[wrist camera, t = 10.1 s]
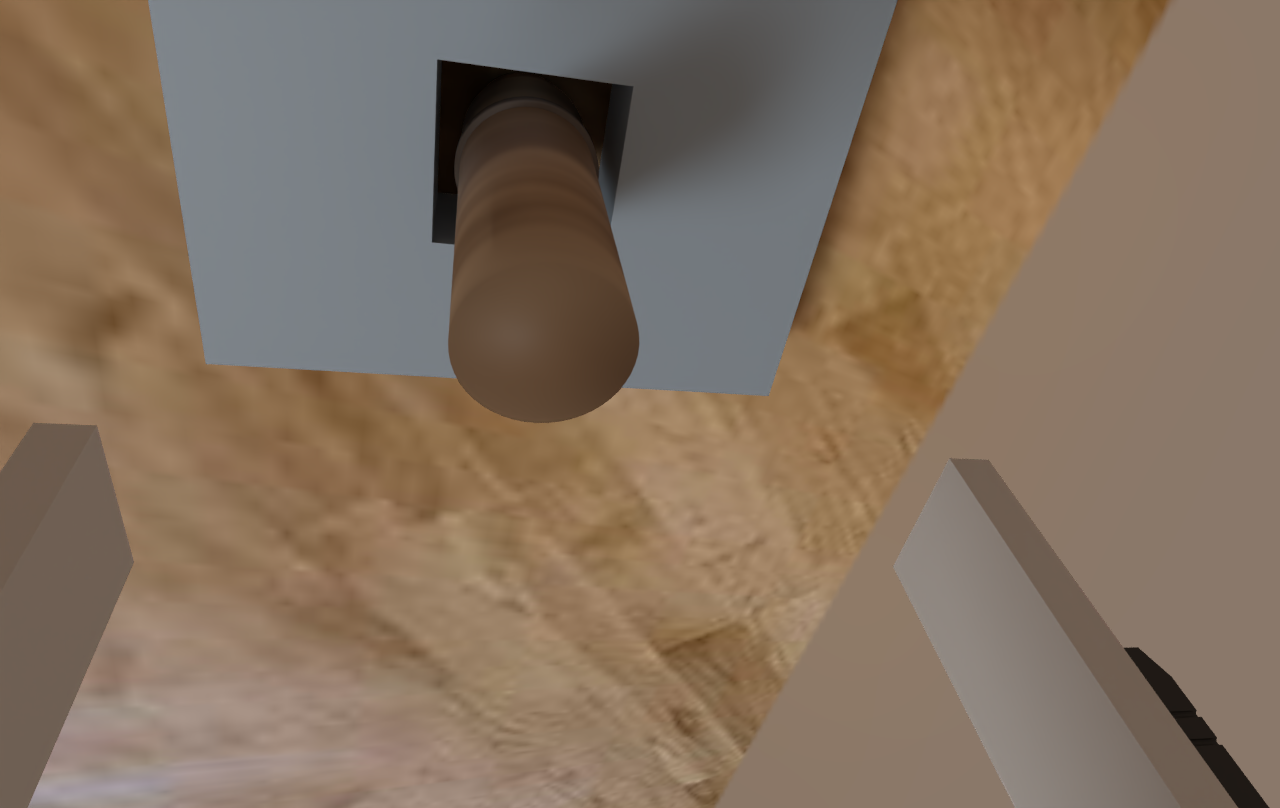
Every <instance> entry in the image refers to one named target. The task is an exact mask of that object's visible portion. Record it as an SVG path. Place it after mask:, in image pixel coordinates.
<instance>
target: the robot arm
mask: <svg viewBox="0 0 1280 808" xmlns="http://www.w3.org/2000/svg"><path fill="white" fill-rule="evenodd" d="M133 563H134V561H133V557H132V553H131V550H130V546H129V542H128V539H127V535H126V531H125V527H124V524H123V520H122V516H121V513H120V509H119V505H118V502H117V498H116V494H115V491H114V487H113V483H112V480H111V476H110V472H109V468H108V465H107V461H106V457H105V454H104V450H103V446H102V443H101V439H100V435H99V432H98V428H97V425H72V424H47V423H33V424H32V426H31V427H30V429H29V430H28V432H27V433H26V435H25V436H24V438H23V439H22V441H21V442H20V444H19V445H18V447H17V448H16V450H15V451H14V452H13V454H12V455H11V457H10V458H9V460H8V461H7V463H6V464H5V466H4V467H3V469H2V470H1V472H0V808H27V807H28V805H29V803H30V801H31V798H32V796H33V794H34V791H35V789H36V787H37V784H38V782H39V780H40V777H41V775H42V773H43V771H44V768H45V766H46V764H47V761H48V759H49V757H50V754H51V752H52V750H53V747H54V745H55V743H56V741H57V738H58V736H59V734H60V731H61V729H62V727H63V724H64V722H65V720H66V717H67V715H68V713H69V711H70V708H71V706H72V704H73V701H74V699H75V697H76V694H77V692H78V690H79V688H80V685H81V683H82V681H83V678H84V676H85V674H86V671H87V669H88V667H89V664H90V662H91V660H92V658H93V655H94V653H95V651H96V648H97V646H98V644H99V641H100V639H101V637H102V634H103V632H104V630H105V628H106V625H107V623H108V621H109V618H110V616H111V614H112V611H113V609H114V607H115V604H116V602H117V600H118V598H119V595H120V593H121V591H122V588H123V586H124V584H125V581H126V579H127V577H128V575H129V572H130V570H131V568H132V565H133ZM893 567H894V569H895V571H896V573H897V575H898V577H899V579H900V581H901V583H902V585H903V587H904V589H905V591H906V593H907V595H908V597H909V599H910V601H911V603H912V605H913V607H914V609H915V611H916V613H917V615H918V617H919V619H920V621H921V623H922V625H923V627H924V629H925V631H926V633H927V635H928V637H929V639H930V641H931V643H932V644H933V647H934V649H935V651H936V653H937V655H938V656H939V658H940V660H941V662H942V664H943V666H944V668H945V670H946V672H947V674H948V676H949V678H950V680H951V682H952V684H953V686H954V688H955V690H956V692H957V694H958V696H959V698H960V700H961V702H962V704H963V706H964V708H965V710H966V712H967V714H968V716H969V718H970V720H971V722H972V724H973V726H974V728H975V730H976V732H977V734H978V736H979V738H980V740H981V742H982V744H983V746H984V748H985V750H986V751H987V754H988V755H989V757H990V759H991V761H992V763H993V765H994V767H995V769H996V771H997V773H998V775H999V777H1000V779H1001V781H1002V783H1003V785H1004V787H1005V789H1006V791H1007V793H1008V795H1009V797H1010V799H1011V801H1012V803H1013V805H1014V807H1015V808H1269V807H1268V805H1267V804H1266V803H1265V802H1264V800H1263V799H1262V797H1261V796H1260V795H1259V793H1258V792H1257V791H1256V789H1255V788H1254V787H1253V785H1252V784H1251V783H1250V781H1249V780H1248V779H1247V777H1246V776H1245V775H1244V773H1243V772H1242V771H1241V769H1240V768H1239V767H1238V765H1237V764H1236V763H1235V761H1234V760H1233V759H1232V757H1231V756H1230V755H1229V753H1228V752H1227V751H1226V749H1225V748H1224V747H1223V745H1219V744H1218V743H1217V742H1216V739H1217V737H1216V736H1215V734H1214V733H1213V732H1212V730H1211V729H1210V728H1209V726H1208V725H1207V724H1206V722H1205V721H1204V720H1203V718H1202V717H1198V716H1197V715H1196V709H1195V708H1194V706H1193V705H1192V704H1191V702H1190V701H1189V700H1188V698H1187V697H1186V696H1185V694H1184V693H1183V692H1182V691H1181V689H1180V688H1179V686H1178V685H1177V684H1176V682H1175V681H1174V680H1173V678H1172V677H1171V676H1170V675H1169V674H1168V673H1166V672H1165V671H1164V670H1163V669H1162V668H1161V667H1160V666H1158V665H1157V664H1156V663H1155V662H1154V661H1153V660H1151V659H1150V658H1149V657H1148V656H1147V655H1146V654H1145V653H1144V652H1142V651H1141V650H1140V649H1139V648H1123V647H1122V645H1121V644H1120V642H1119V641H1118V640H1117V638H1116V637H1115V635H1114V634H1113V633H1112V631H1111V630H1110V628H1109V627H1108V626H1107V624H1106V623H1105V621H1104V620H1103V619H1102V618H1101V616H1100V615H1099V613H1098V612H1097V610H1096V609H1095V608H1094V606H1093V605H1092V603H1091V602H1090V601H1089V599H1088V598H1087V596H1086V595H1085V594H1084V592H1083V591H1082V589H1081V588H1080V587H1079V585H1078V584H1077V582H1076V581H1075V580H1074V578H1073V577H1072V575H1071V574H1070V573H1069V571H1068V570H1067V568H1066V567H1065V566H1064V564H1063V563H1062V561H1061V560H1060V559H1059V557H1058V556H1057V555H1056V553H1055V552H1054V550H1053V549H1052V548H1051V546H1050V545H1049V544H1048V542H1047V541H1046V539H1045V538H1044V536H1043V535H1042V534H1041V532H1040V531H1039V529H1038V528H1037V527H1036V525H1035V524H1034V522H1033V521H1032V520H1031V518H1030V517H1029V515H1028V514H1027V513H1026V512H1025V510H1024V509H1023V507H1022V506H1021V504H1020V503H1019V502H1018V500H1017V499H1016V497H1015V496H1014V495H1013V493H1012V492H1011V490H1010V489H1009V488H1008V486H1007V485H1006V483H1005V482H1004V481H1003V479H1002V478H1001V476H1000V475H999V474H998V472H997V471H996V469H995V468H994V467H993V465H992V464H991V462H990V461H989V460H978V459H952V458H950V459H949V460H948V462H947V464H946V466H945V468H944V470H943V472H942V474H941V476H940V478H939V480H938V482H937V483H936V486H935V487H934V489H933V491H932V493H931V495H930V497H929V499H928V501H927V503H926V505H925V507H924V508H923V511H922V512H921V514H920V516H919V518H918V520H917V522H916V524H915V526H914V528H913V529H912V531H911V534H910V535H909V537H908V539H907V541H906V543H905V545H904V547H903V549H902V551H901V553H900V554H899V557H898V558H897V560H896V562H895V564H894V566H893Z"/></svg>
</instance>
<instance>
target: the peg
mask: <svg viewBox="0 0 1280 808" xmlns="http://www.w3.org/2000/svg"><path fill="white" fill-rule="evenodd" d="M454 170H455V181H456V186H457V189H458V199H457V214H456V229H455V244H454V259H453V274H452V290H451V305H450V320H449V335H448V353H449V358H450V363H451V366H452V369H453V371H454V374H455V376H456V377H457V379H458V381H459V383H460V384H461V385H462V387H463V388H464V389H465V391H466V392H467V393H468V394H469V395H470V396H471V397H472V398H473V399H474V400H476V401H477V402H478V403H480V404H481V405H482V406H484V407H486V408H487V409H489V410H491V411H493V412H495V413H497V414H499V415H501V416H504V417H507V418H511V419H514V420H519V421H524V422H534V423H549V422H559V421H564V420H568V419H572V418H575V417H578V416H581V415H584V414H586V413H588V412H591V411H593V410H594V409H596V408H598V407H599V406H601V405H603V404H604V403H605V402H607V401H608V400H609V399H611V398H612V397H613V396H614V395H615V394H616V393H617V392H618V391H619V390H620V389H621V388H622V386H623V385H624V384H625V383H626V381H627V379H628V378H629V376H630V375H631V373H632V371H633V368H634V366H635V364H636V360H637V356H638V351H639V330H638V325H637V321H636V317H635V313H634V310H633V306H632V302H631V299H630V295H629V291H628V288H627V284H626V280H625V277H624V273H623V269H622V266H621V262H620V258H619V255H618V251H617V247H616V244H615V240H614V236H613V232H612V229H611V225H610V221H609V218H608V214H607V210H606V207H605V203H604V199H603V196H602V192H601V188H600V185H599V181H598V179H599V165H598V159H597V155H596V151H595V148H594V145H593V142H592V140H591V137H590V135H589V133H588V132H587V130H586V129H585V127H584V126H583V122H582V119H581V116H580V114H579V112H578V110H577V108H576V107H575V105H574V104H573V102H572V101H571V100H570V98H569V97H568V96H567V95H566V94H565V93H564V92H563V91H561V90H560V89H559V88H557V87H556V86H554V85H553V84H552V83H551V82H549V81H548V80H546V79H544V78H542V77H540V76H538V75H535V74H530V73H523V72H518V73H510V74H506V75H503V76H500V77H498V78H496V79H495V80H493V81H492V82H490V83H489V84H488V85H487V86H486V87H485V88H484V89H483V90H482V91H481V92H480V93H479V94H478V95H477V96H476V97H475V99H474V100H473V101H472V103H471V104H470V106H469V108H468V110H467V112H466V115H465V117H464V121H463V127H462V134H461V137H460V139H459V141H458V145H457V149H456V155H455V165H454Z"/></svg>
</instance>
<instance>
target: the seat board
mask: <svg viewBox="0 0 1280 808" xmlns="http://www.w3.org/2000/svg"><path fill="white" fill-rule="evenodd" d="M148 1H149V8H150V14H151V20H152V27H153V33H154V39H155V46H156V52H157V58H158V65H159V71H160V77H161V83H162V90H163V96H164V102H165V109H166V115H167V121H168V128H169V134H170V140H171V147H172V153H173V159H174V165H175V172H176V178H177V184H178V191H179V197H180V203H181V210H182V216H183V222H184V229H185V235H186V241H187V248H188V254H189V260H190V266H191V273H192V279H193V285H194V292H195V298H196V304H197V311H198V317H199V323H200V330H201V336H202V342H203V348H204V355H205V361H206V364H218V365H236V366H253V367H271V368H288V369H306V370H323V371H341V372H358V373H376V374H393V375H411V376H429V377H446V378H457V377H456V376H455V374H454V371H453V369H452V366H451V363H450V358H449V353H448V335H449V320H450V305H451V290H452V274H453V259H454V244H455V229H456V214H457V199H458V194H452V193H442V192H438V167H439V137H440V106H441V75H442V60H446V61H453V62H460V63H467V64H475V65H482V66H489V67H496V68H503V69H511V70H518V71H525V72H532V73H540V74H547V75H554V76H561V77H568V78H576V79H583V80H590V81H597V82H605V83H612V87H611V94H610V100H609V107H608V114H607V120H606V127H605V134H604V140H603V147H602V154H601V160H600V167H599V179H598V181H599V185H600V188H601V192H602V196H603V199H604V203H605V207H606V210H607V214H608V218H609V221H610V225H611V229H612V232H613V236H614V240H615V244H616V247H617V251H618V255H619V258H620V262H621V266H622V269H623V273H624V277H625V280H626V284H627V288H628V291H629V295H630V299H631V302H632V306H633V310H634V313H635V317H636V321H637V325H638V330H639V351H638V356H637V360H636V364H635V366H634V368H633V371H632V373H631V375H630V376H629V378H628V379H627V381H626V383H625V384H624V385H623V386H622V388H639V389H656V390H674V391H692V392H709V393H727V394H744V395H762V396H769V393H770V390H771V387H772V384H773V381H774V377H775V374H776V371H777V368H778V365H779V362H780V359H781V356H782V353H783V350H784V347H785V344H786V341H787V338H788V334H789V331H790V328H791V325H792V322H793V319H794V316H795V313H796V310H797V307H798V304H799V301H800V298H801V295H802V292H803V288H804V285H805V282H806V279H807V276H808V273H809V270H810V267H811V264H812V261H813V258H814V255H815V252H816V249H817V246H818V242H819V239H820V236H821V233H822V230H823V227H824V224H825V221H826V218H827V215H828V212H829V209H830V206H831V203H832V200H833V196H834V193H835V190H836V187H837V184H838V181H839V178H840V175H841V172H842V169H843V166H844V163H845V160H846V157H847V154H848V150H849V147H850V144H851V141H852V138H853V135H854V132H855V129H856V126H857V123H858V120H859V117H860V114H861V111H862V108H863V104H864V101H865V98H866V95H867V92H868V89H869V86H870V83H871V80H872V77H873V74H874V71H875V68H876V65H877V62H878V58H879V55H880V52H881V49H882V46H883V43H884V40H885V37H886V34H887V31H888V28H889V25H890V22H891V19H892V16H893V12H894V9H895V6H896V3H897V0H148Z"/></svg>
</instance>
